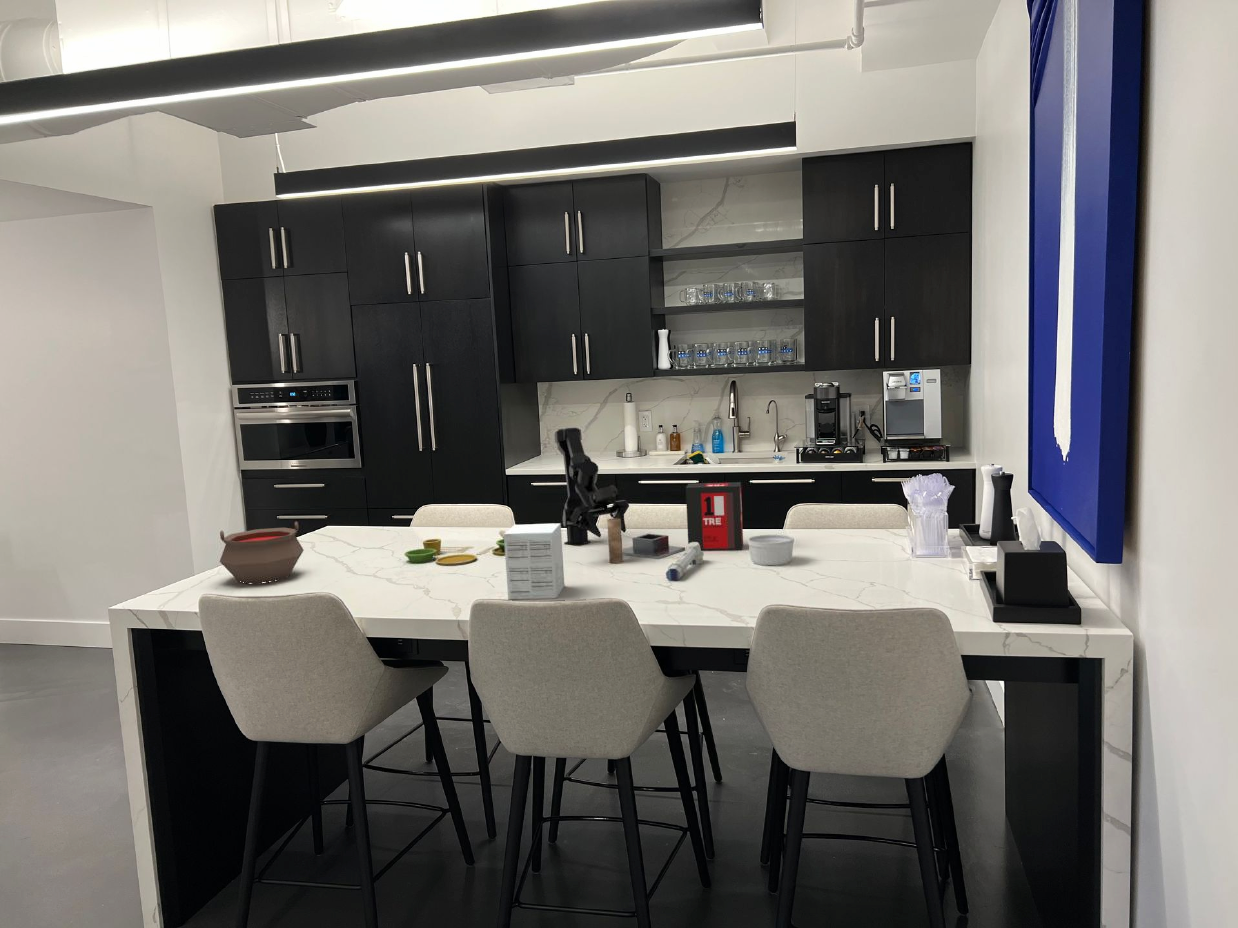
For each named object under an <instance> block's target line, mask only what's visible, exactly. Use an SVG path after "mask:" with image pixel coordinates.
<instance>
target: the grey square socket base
mask: <svg viewBox="0 0 1238 928" xmlns="http://www.w3.org/2000/svg"><path fill="white" fill-rule="evenodd" d="M669 543H670V541H669V535H665V534H658V533H657V534H656V533H646V534H642V535H639V536H636V537H632V546H630V547H628V548H624V549H623V548H622V555H623V556H631V557H639V558H640V557H641V558H646V559H654V560H655V559H656V560H659V559H661V558H666V557H668V556H671V555H674V554H678V553H680V552H684V551H686V547H683V546H674V545H670V544H669Z"/></svg>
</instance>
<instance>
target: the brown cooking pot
mask: <svg viewBox="0 0 1238 928" xmlns="http://www.w3.org/2000/svg"><path fill="white" fill-rule="evenodd" d="M299 529H300V526H299V522H298V521H295V522H294V528H288V527H274V528H259V529H258V528H257V529H252V530H246V531H241V532H235V533H231V534H229V535H227V536H225V532H224V530H220V532H219V535H220V537H219V538H220V540H221V541H222V542H223V543H224V544H225V545H224V549H223V551H222V554H221V555H220V556H221V557H220V559H219V563H220V564H221V565H222V566H223V567H225V569H226V570H227V571H228V572H229V573H230V574H231V575H232V576H233V577H234V578H235V580H236V581H238V582H239V581H241V582H244V583H262V582H269V581H275V580H279V581H282V580H281V579H283V580H285V579H287V578H288V577H289V576H290V575H291V573H292V572H293V570H294V568H295V566H296V565H297V563H298V561H299V560H300V558H301V555H302V554H303V553H304V551H305V550H304V548H303V546H302V544H301V543H300V542H299V540H298V538H297V536H296V534H297V533H298V531H299ZM287 576H288V577H287ZM286 577H287V578H286ZM275 582H276V581H275ZM244 583H243V584H244Z"/></svg>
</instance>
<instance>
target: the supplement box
mask: <svg viewBox="0 0 1238 928" xmlns="http://www.w3.org/2000/svg"><path fill="white" fill-rule="evenodd" d="M562 536H563V535H562V523H561V522H560V523H533V524H527V523H526V524H513V525H512V526H511V528H509V529H508V530H507V531H506V532H505V534H504V545H505V556H504V557H505V570H506V585H507V586H506V587H507V599H508V600H533V599H534V600H536V599H537V600H538V599H540V600H542V599H543V600H545V599H548V600H549V599H557V598H558V597H559V595H560V594H561V592H562V590H563V589H564V587H565V585H566V583H565V572H564V570H565V569H564V556H563V555H564V554H563V538H562Z"/></svg>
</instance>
